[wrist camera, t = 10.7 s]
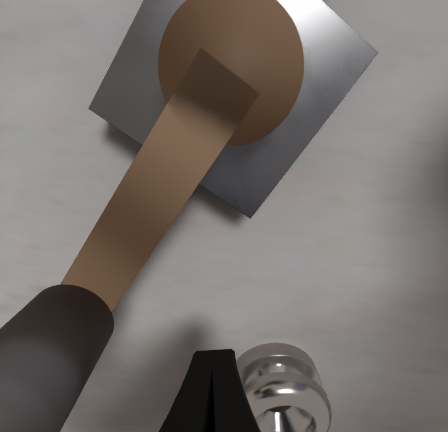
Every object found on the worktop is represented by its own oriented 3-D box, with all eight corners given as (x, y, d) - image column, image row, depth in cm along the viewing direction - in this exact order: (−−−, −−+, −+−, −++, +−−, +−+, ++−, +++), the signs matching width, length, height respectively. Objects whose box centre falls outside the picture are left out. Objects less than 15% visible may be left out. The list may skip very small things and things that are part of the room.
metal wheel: (293, 416, 17) (331, 356, 16) (307, 473, 14) (355, 407, 13) (218, 394, 16) (249, 331, 15) (217, 450, 14) (256, 378, 12)
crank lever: (213, -25, 8) (183, -522, 2) (316, 62, 9) (539, -89, 3) (31, 297, 11) (-192, 497, 5) (116, 341, 12) (7, 563, 6)
